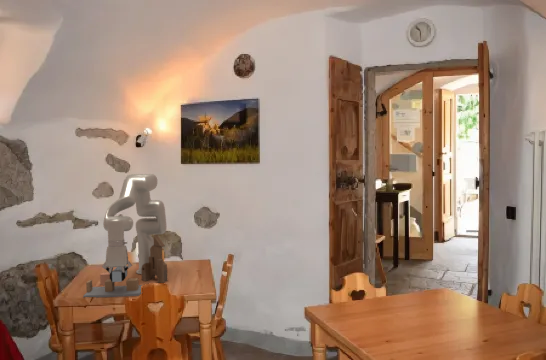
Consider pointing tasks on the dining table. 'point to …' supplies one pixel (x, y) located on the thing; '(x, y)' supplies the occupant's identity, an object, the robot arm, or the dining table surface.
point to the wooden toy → (155, 263)
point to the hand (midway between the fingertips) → (117, 280)
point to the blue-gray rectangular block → (118, 274)
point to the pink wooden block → (104, 278)
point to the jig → (114, 289)
